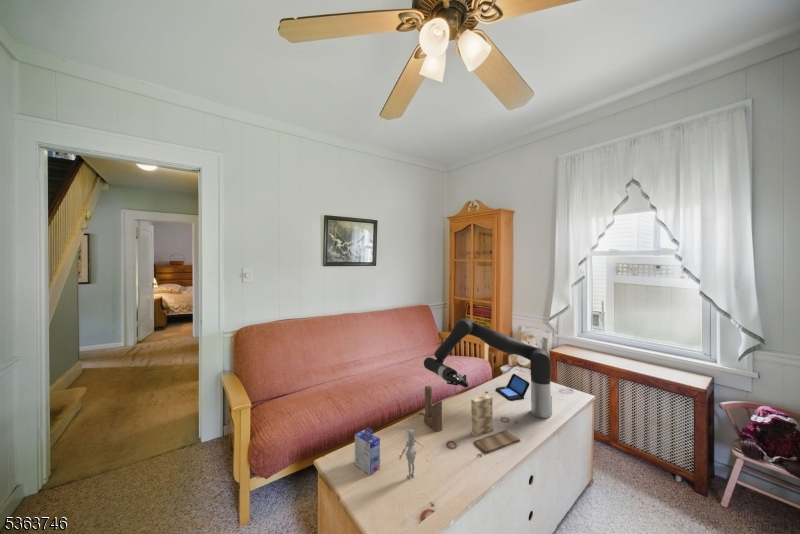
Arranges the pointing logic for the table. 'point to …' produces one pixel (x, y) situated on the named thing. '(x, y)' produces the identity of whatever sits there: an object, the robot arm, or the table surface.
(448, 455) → the table surface
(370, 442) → the ink cartridge box
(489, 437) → the floor panel
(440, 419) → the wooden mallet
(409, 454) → the human figurine
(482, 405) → the oak plank
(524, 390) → the handheld game console
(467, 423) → the table surface
